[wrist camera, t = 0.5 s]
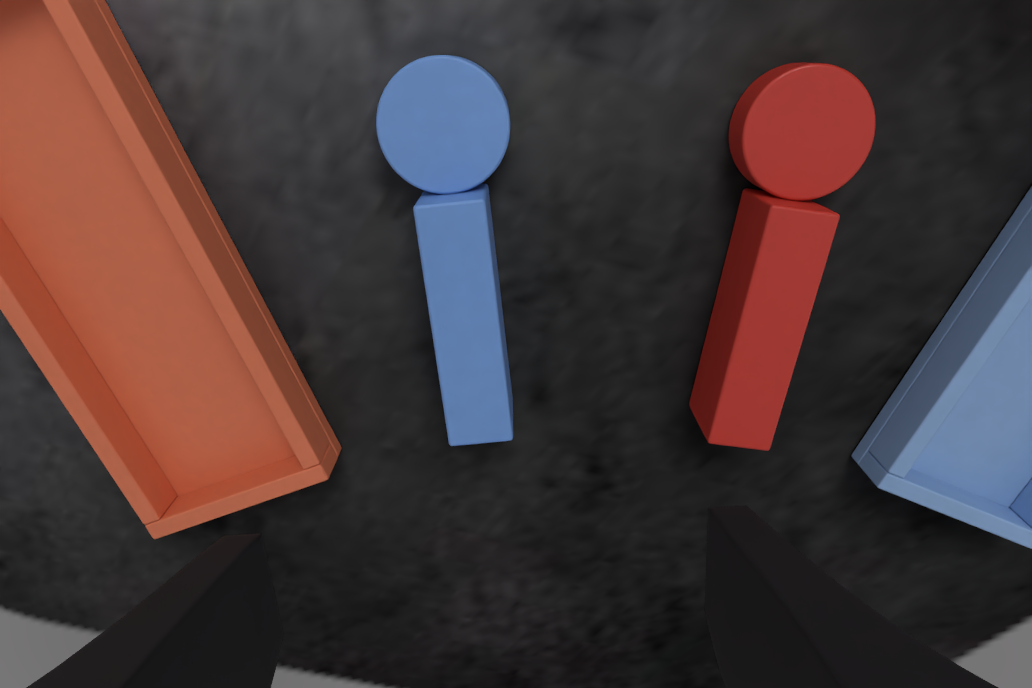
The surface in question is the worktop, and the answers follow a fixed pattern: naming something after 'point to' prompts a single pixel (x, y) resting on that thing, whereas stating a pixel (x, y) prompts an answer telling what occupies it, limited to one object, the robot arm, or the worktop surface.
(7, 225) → the orange tray
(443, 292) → the blue spoon
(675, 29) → the worktop surface
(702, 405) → the red spoon
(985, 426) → the blue rest
